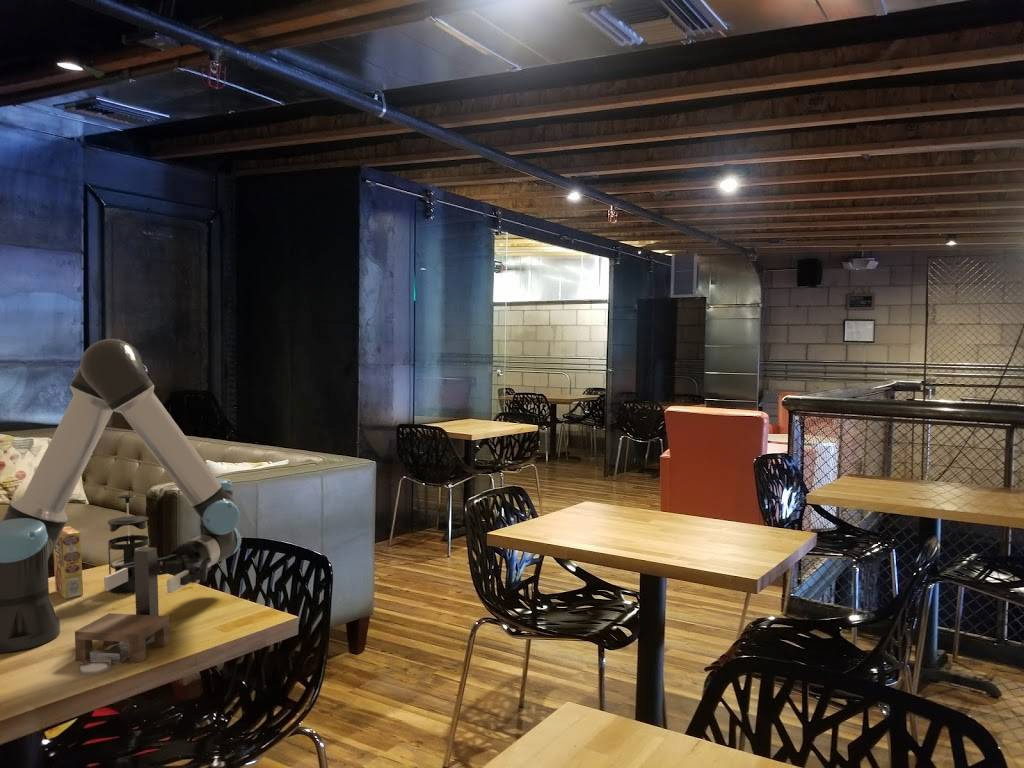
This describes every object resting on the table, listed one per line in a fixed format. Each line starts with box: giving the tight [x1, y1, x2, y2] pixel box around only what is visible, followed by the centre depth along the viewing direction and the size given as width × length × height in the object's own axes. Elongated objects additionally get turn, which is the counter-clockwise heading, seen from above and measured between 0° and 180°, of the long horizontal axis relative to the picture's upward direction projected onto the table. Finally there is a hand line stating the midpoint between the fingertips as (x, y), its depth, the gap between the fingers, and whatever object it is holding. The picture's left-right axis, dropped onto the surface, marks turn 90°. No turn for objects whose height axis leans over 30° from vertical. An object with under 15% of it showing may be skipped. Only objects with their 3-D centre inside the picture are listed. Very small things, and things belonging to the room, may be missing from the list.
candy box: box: [52, 526, 84, 599], centre depth 187 cm, size 9×4×15 cm, turn 44°
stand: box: [74, 612, 171, 664], centre depth 152 cm, size 13×10×6 cm
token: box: [79, 657, 112, 676], centre depth 144 cm, size 5×5×2 cm
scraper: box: [89, 546, 160, 665], centre depth 153 cm, size 6×15×18 cm, turn 172°
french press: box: [107, 493, 150, 595], centre depth 191 cm, size 12×9×23 cm
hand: (137, 585), depth 156 cm, fingers open, 13 cm apart
